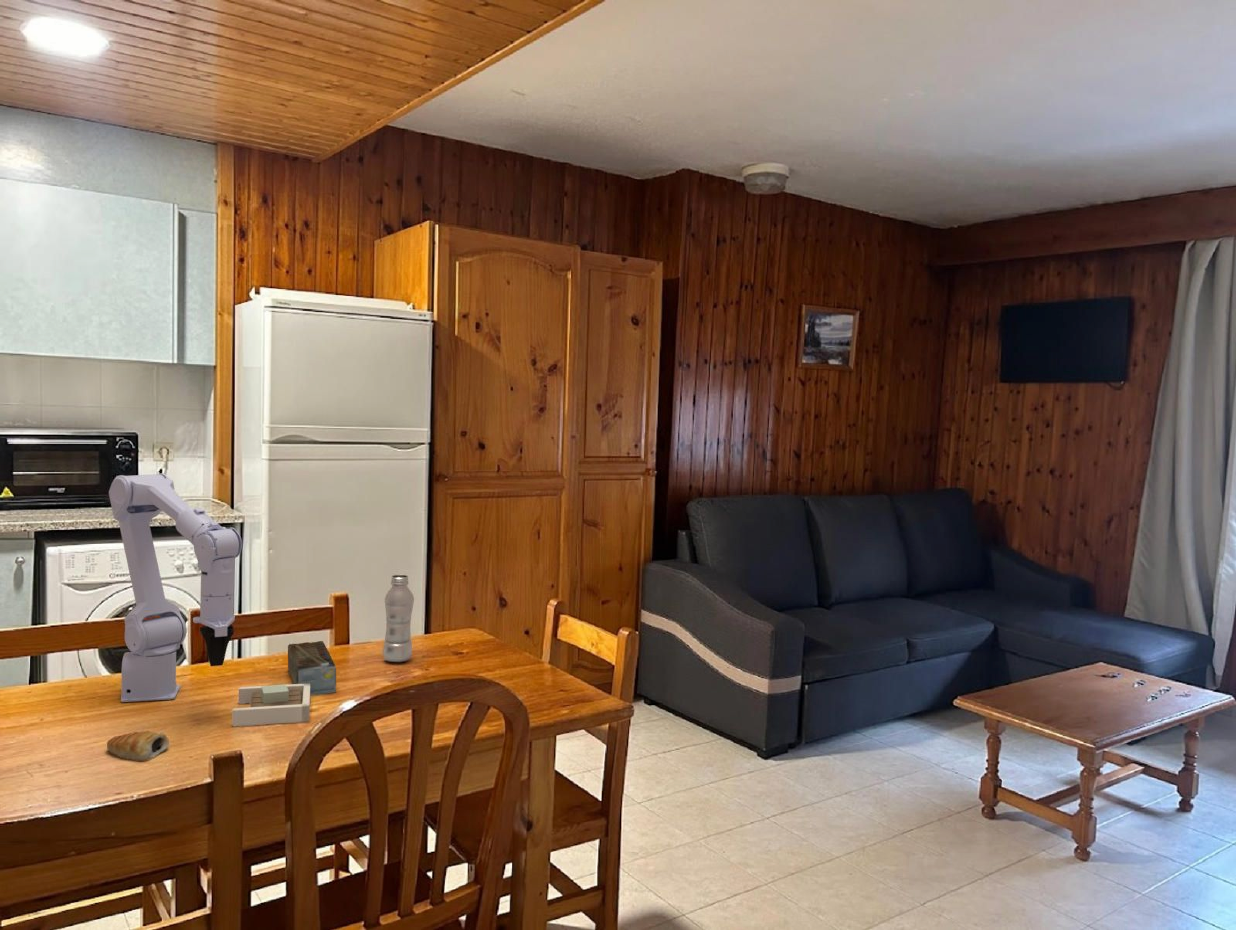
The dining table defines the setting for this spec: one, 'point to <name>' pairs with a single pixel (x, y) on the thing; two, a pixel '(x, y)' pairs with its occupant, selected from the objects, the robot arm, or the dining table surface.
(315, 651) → the beverage carton
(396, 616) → the plastic bottle
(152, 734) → the pastry
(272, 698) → the pale green block
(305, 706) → the dock
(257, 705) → the pallet
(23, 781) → the dining table surface
